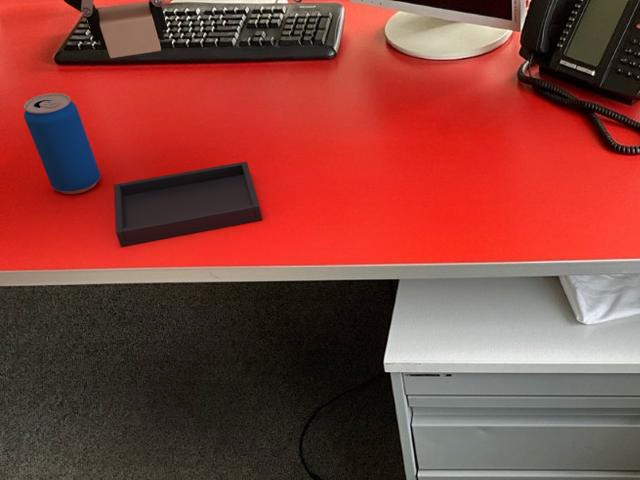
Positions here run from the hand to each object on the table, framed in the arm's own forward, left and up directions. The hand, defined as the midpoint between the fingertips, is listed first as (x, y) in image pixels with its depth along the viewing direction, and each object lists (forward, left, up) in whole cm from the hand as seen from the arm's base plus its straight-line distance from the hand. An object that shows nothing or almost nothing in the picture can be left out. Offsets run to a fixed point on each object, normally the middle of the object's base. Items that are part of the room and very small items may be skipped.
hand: (132, 39), depth 110 cm
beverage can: (-13, +4, -20) cm, 24 cm away
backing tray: (+1, -8, -20) cm, 21 cm away
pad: (0, 0, -1) cm, 1 cm away
